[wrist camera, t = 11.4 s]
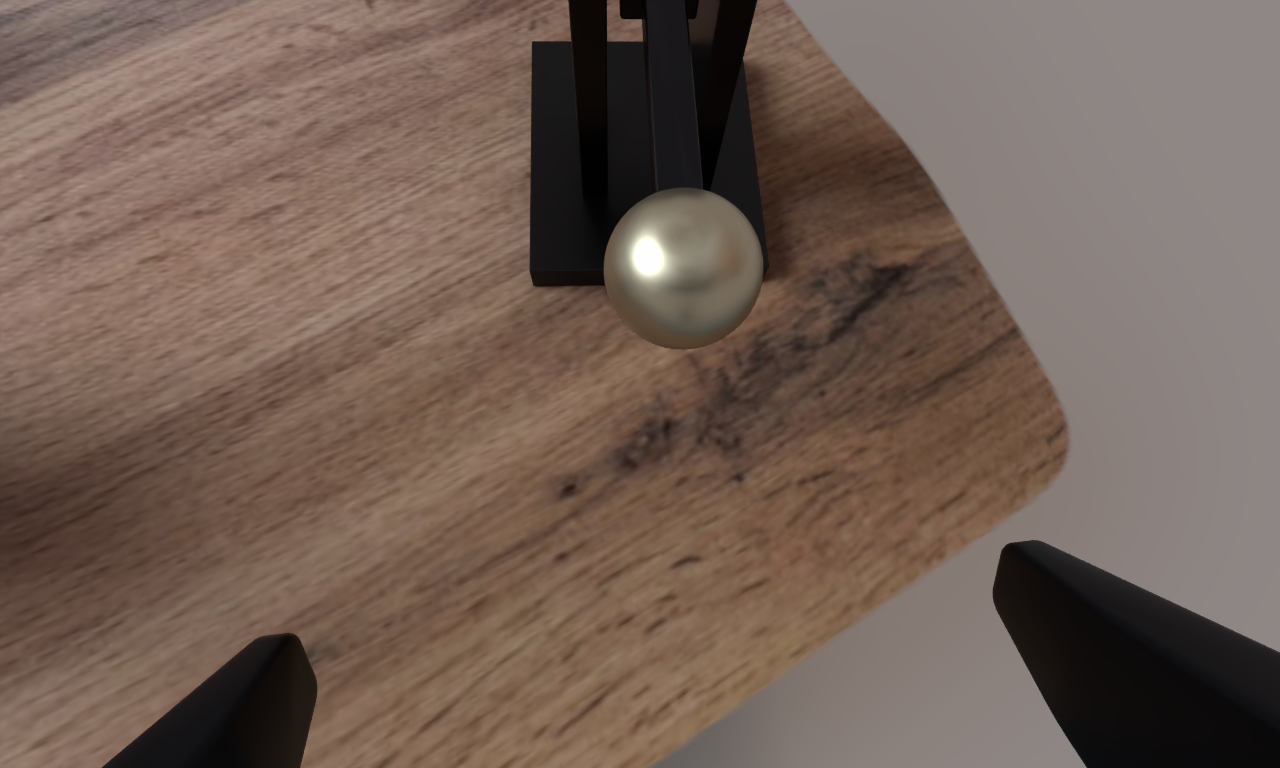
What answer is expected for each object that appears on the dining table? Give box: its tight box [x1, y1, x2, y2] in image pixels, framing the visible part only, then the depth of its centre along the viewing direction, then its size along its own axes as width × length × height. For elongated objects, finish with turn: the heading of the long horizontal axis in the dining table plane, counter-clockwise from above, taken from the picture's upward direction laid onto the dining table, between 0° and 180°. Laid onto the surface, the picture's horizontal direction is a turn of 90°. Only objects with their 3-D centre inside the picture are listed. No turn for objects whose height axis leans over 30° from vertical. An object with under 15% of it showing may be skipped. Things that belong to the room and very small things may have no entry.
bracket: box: [530, 0, 769, 286], centre depth 21 cm, size 11×9×11 cm
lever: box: [604, 0, 763, 349], centre depth 16 cm, size 13×4×4 cm, turn 3°
